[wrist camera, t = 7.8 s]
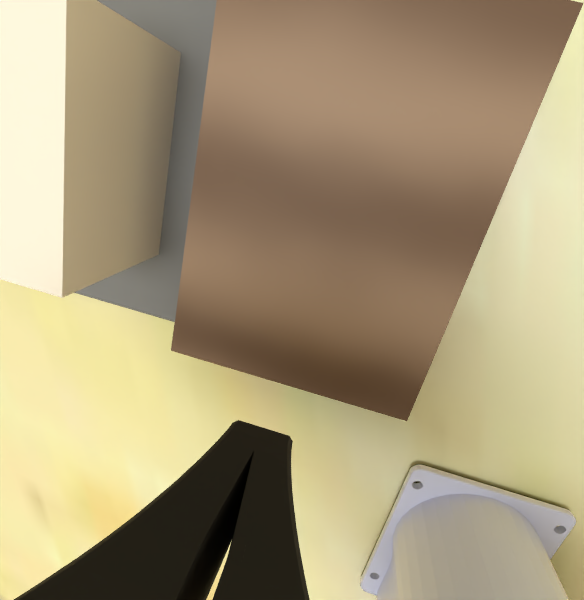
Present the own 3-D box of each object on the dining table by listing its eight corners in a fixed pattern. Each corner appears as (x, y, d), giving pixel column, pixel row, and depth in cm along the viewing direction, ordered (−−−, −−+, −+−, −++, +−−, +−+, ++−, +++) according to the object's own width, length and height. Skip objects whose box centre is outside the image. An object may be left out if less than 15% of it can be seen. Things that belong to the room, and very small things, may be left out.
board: (399, 381, 18) (406, 421, 15) (199, 322, 19) (171, 350, 16) (535, 37, 13) (583, 2, 10) (253, -23, 14) (226, -71, 11)
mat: (189, 320, 19) (184, 324, 18) (-30, 256, 20) (-41, 258, 19) (240, -26, 14) (235, -34, 13) (-58, -90, 15) (-75, -100, 14)
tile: (62, 297, 12) (-12, 275, 12) (158, 254, 17) (107, 240, 17) (66, -19, 9) (-32, -41, 9) (181, 52, 14) (119, 37, 15)
